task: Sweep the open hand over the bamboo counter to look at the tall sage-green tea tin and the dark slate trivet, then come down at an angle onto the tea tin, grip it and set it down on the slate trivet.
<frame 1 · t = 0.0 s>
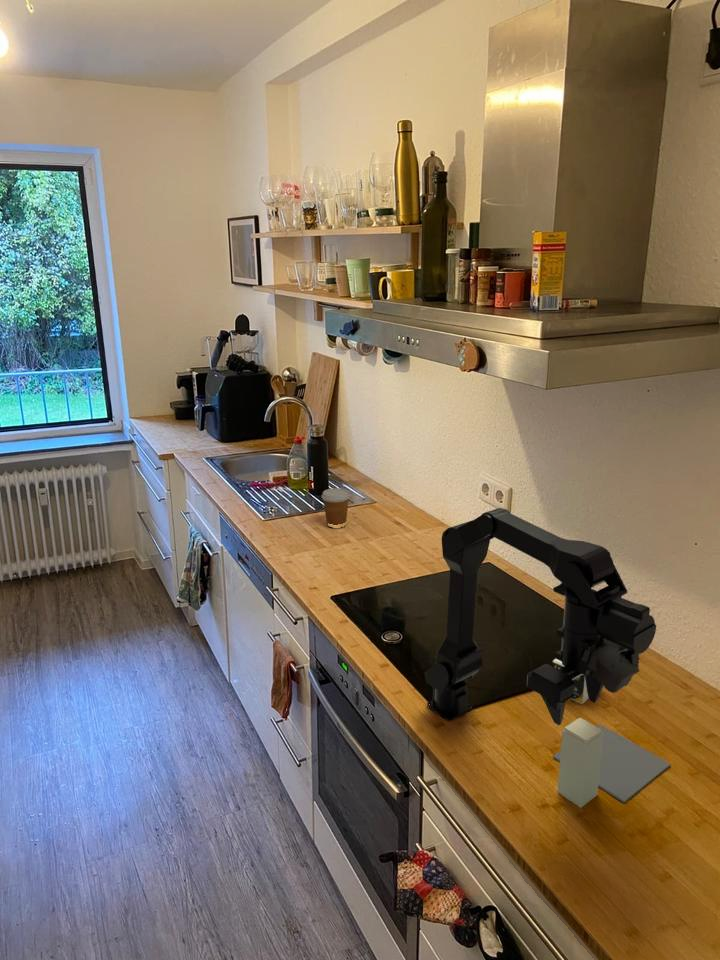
hand: (575, 712, 111), 15 cm above the worktop, tool pointing down, fingers open, 9 cm apart
medicine bottle: (574, 691, 142), on the worktop
disposable coffee cup: (336, 526, 235), on the worktop
tea tin: (577, 793, 114), on the worktop
slate trivet: (611, 761, 121), on the worktop
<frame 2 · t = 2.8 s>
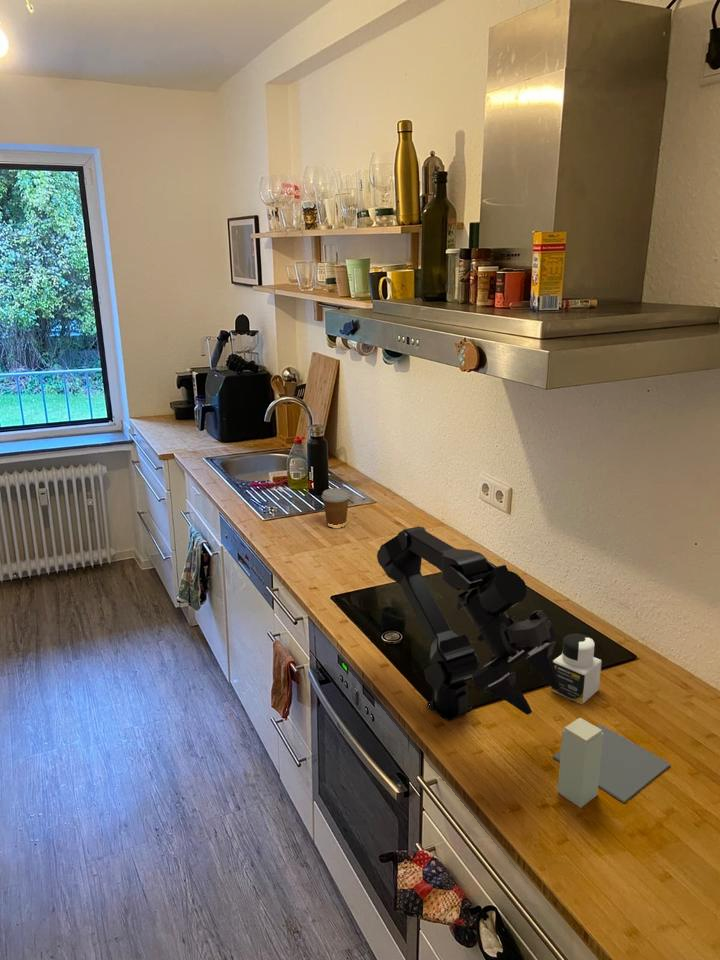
hand: (544, 701, 116), 13 cm above the worktop, tool tilted 45°, fingers open, 9 cm apart
nothing on the worktop moved.
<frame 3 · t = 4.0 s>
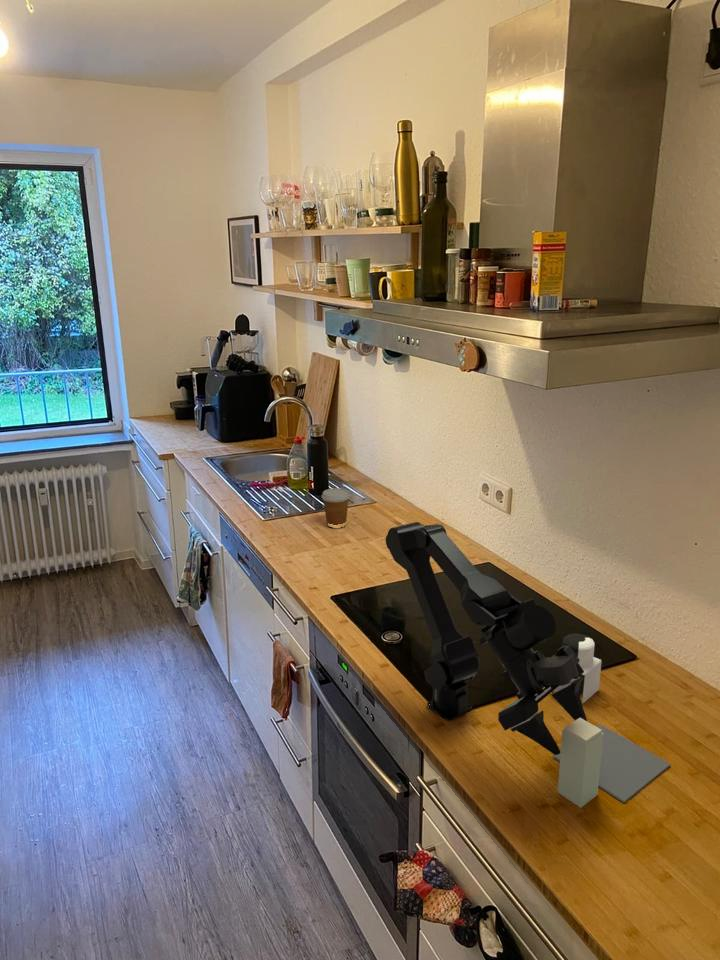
hand: (572, 740, 113), 9 cm above the worktop, tool tilted 45°, fingers open, 9 cm apart
nothing on the worktop moved.
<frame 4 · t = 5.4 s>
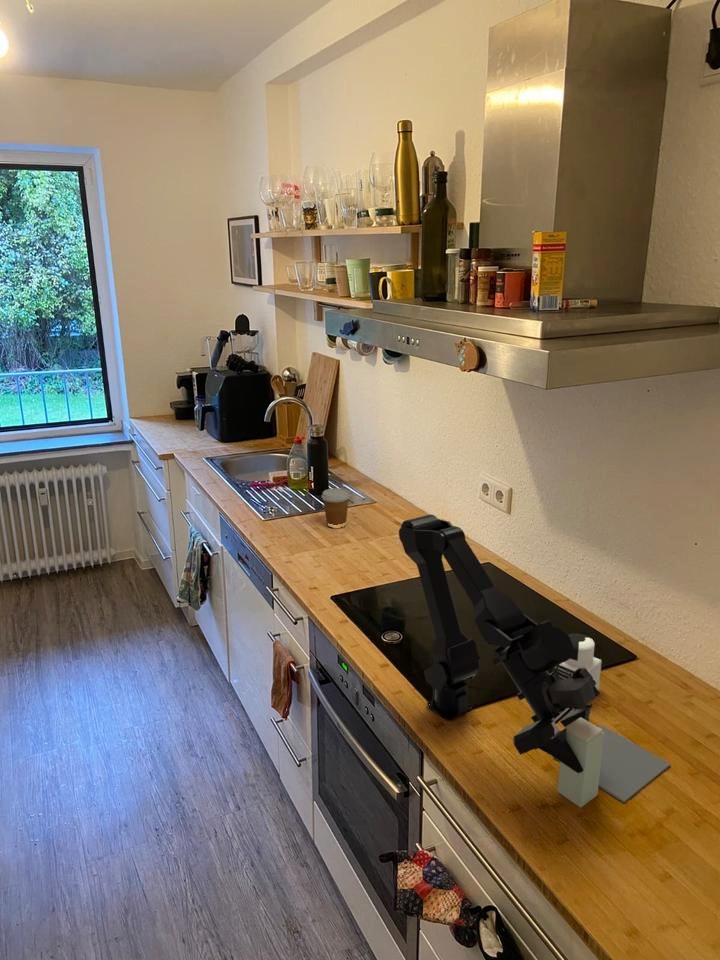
hand: (588, 764, 111), 7 cm above the worktop, tool tilted 45°, fingers closed on tea tin, 5 cm apart
tea tin: (577, 793, 114), on the worktop, touching gripper
everything else where it was.
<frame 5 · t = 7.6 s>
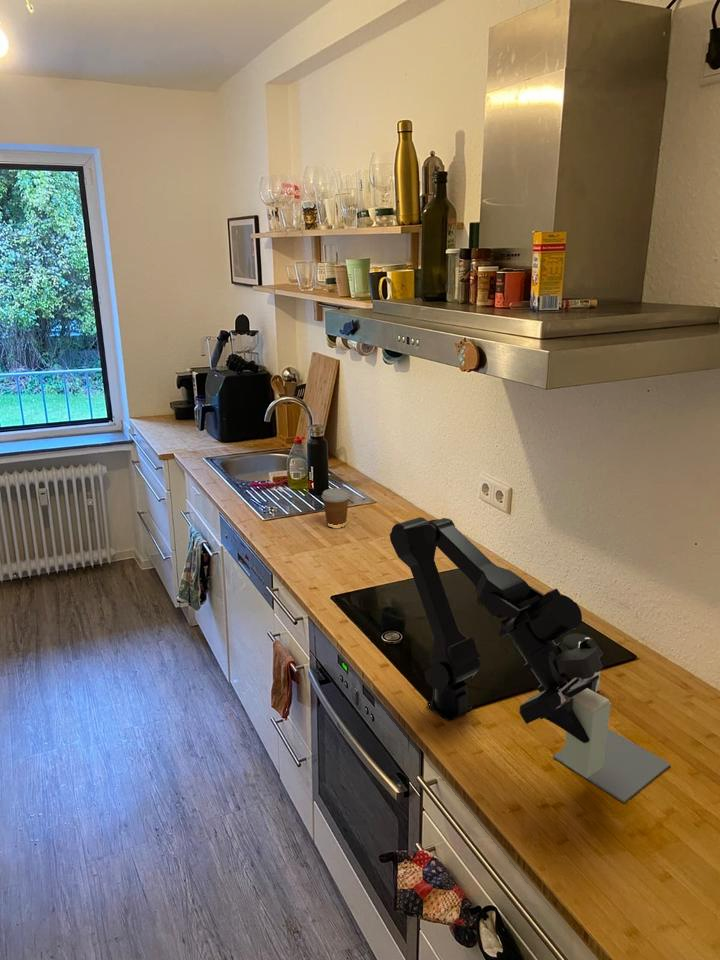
hand: (594, 734, 111), 11 cm above the worktop, tool tilted 45°, fingers closed on tea tin, 5 cm apart
tea tin: (583, 764, 114), point 5 cm above the worktop, touching gripper
everything else where it was.
when the fingers open (8 cm above the worktop, at t = 9.9 s): tea tin drops 1 cm, resting on slate trivet.
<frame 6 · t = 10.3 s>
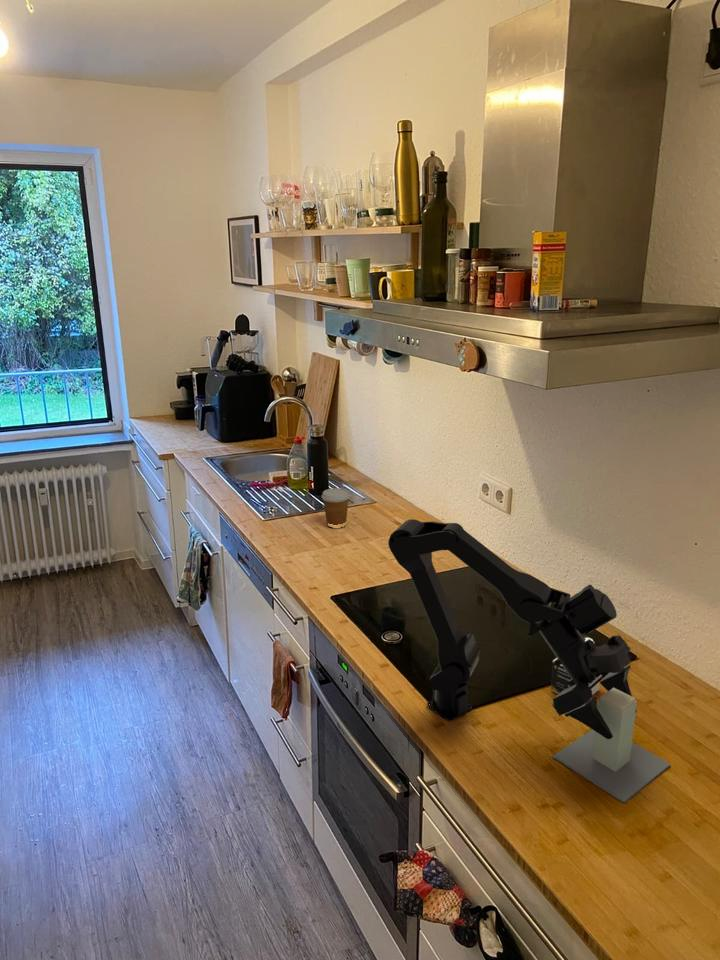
hand: (622, 725, 118), 8 cm above the worktop, tool tilted 45°, fingers open, 9 cm apart
tea tin: (611, 759, 121), resting on slate trivet
everything else where it was.
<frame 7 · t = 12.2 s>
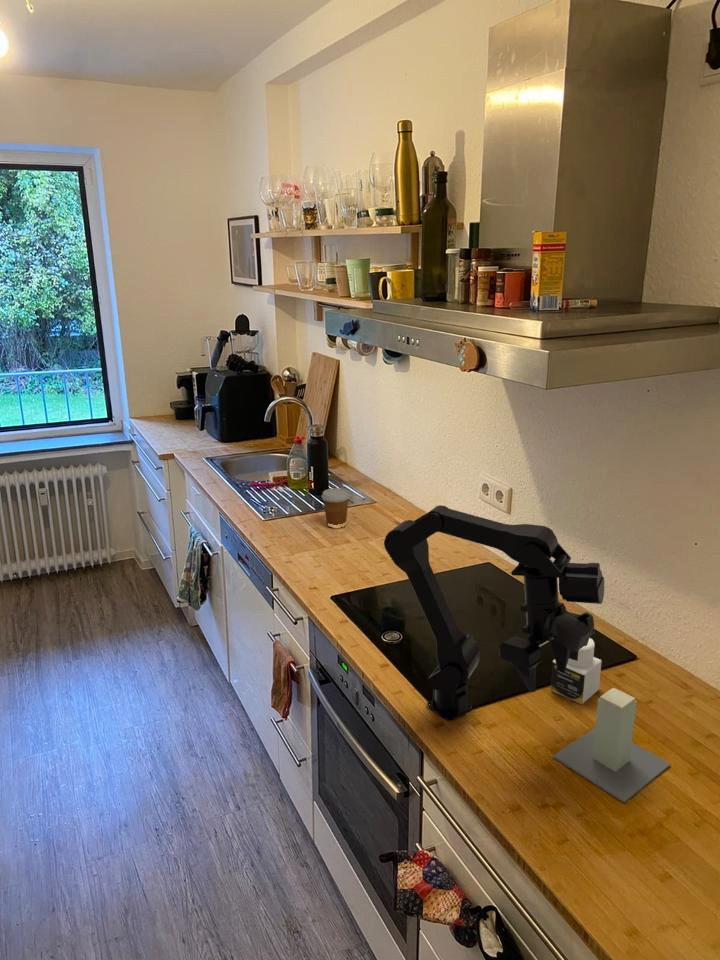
hand: (547, 681, 124), 12 cm above the worktop, tool pointing down, fingers open, 9 cm apart
nothing on the worktop moved.
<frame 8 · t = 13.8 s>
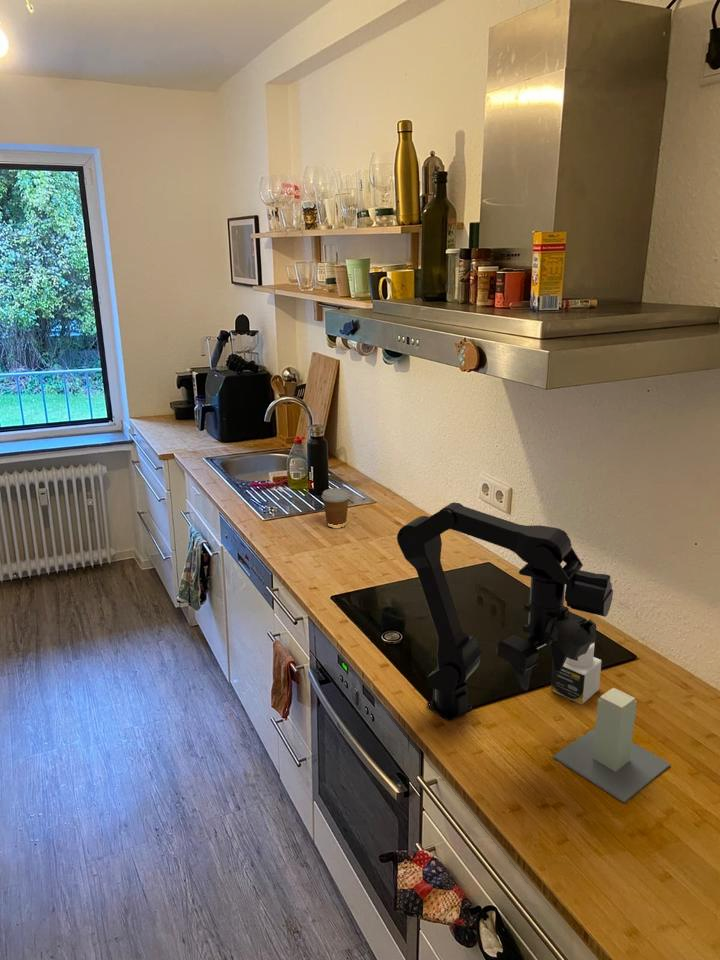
hand: (541, 679, 124), 12 cm above the worktop, tool pointing down, fingers open, 9 cm apart
nothing on the worktop moved.
at the end: tea tin inside the target area on the slate trivet (0.1 cm from its centre), point 0.4 cm above the slate trivet's base; tea tin tilted 0°; the gripper is holding nothing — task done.
